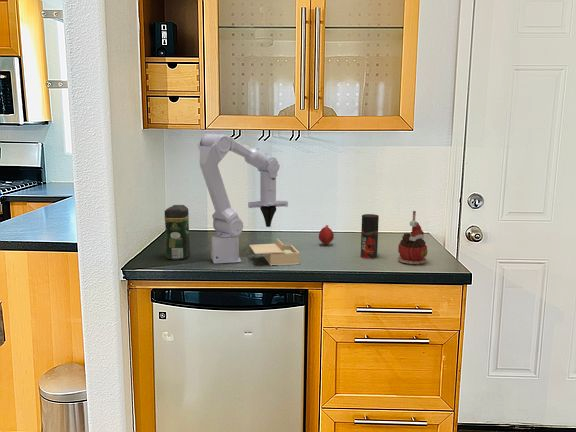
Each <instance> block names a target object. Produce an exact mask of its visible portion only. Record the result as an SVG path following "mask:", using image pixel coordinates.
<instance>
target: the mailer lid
mask: <svg viewBox="0 0 576 432" xmlns="http://www.w3.org/2000/svg"><path fill="white" fill-rule="evenodd" d="M284 245H285V243H283V242H282V241H281V240H280V238H275V243H259V244H249V248H250V249H251V250H252V252H253V254H254V255H264V254H272V253H285V251H284Z"/></svg>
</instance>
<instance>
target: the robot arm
mask: <svg viewBox="0 0 576 432" xmlns="http://www.w3.org/2000/svg"><path fill="white" fill-rule="evenodd" d="M197 146H198V150H199V167H200V169H201V172H202V176H203V179H204V181H205V184H206V187H207V190H208V193H209V196H210V200H211V203H212V206H213V209H214V212H213V213H212V215H211V216H212V220H213V222H212V227H213V229H214V231H215V232H216V235H212V236H211V252H210V253H211V254H210V257H211V260H212V262H213V264H231V263H232V264H233V263H242V259H241V257H240V254H239V252H240V251H239V250H240V249H239V247H240V244H239V242H240V241H239V239H240V238H239V237H240V236H241V234H242V232H243V229H244V223H243V220H242V219H241V218H240V217H239V214H238V212H237V211H236V210H235V209H234V208H232V206H231V203H230V199H229V197H228V194H227V190H226V187H225V184H224V182H223V178H222V175H221V172H220V168H219V164H220V162H221V161H222V160H223V159H224V157H226V155H227V154H228V153H229V152H233V153H235V154H237V155H238V156H241V157H243V158H244V161H245V163H247V164H249V165H250V166H253V167H255V168H256V169H257V171H258V172H260V175H259V176H260V177H259V181H260V182H259V183H260V184H259V185H260V186H259V187H260V188H259V190H260V192H259V194H260V195H259V197H260V198H259V199H260V200H259V201H248V202H247V204H248V206H247V207H248V209H252V208H255V209H256V208H259V209H260V211H261V213H262V215H263V218H264V223H265V227H266V228H270V227H271V225H272V222H273V217H274V215H275V213H276V212H277V208H280V207H286V208H288V206H289V201H288V200H277V177H278V171H279V170H280V166H281V164H279V161H278V159H277V158H276V157H271V156H269V155H268V153H264V152H263V151H260V148H258V147H250V148H248V147H246V146H245V145H244V144H242V143H241V142H239V141H238V140H236V139H234V137H232V136H230V135H227V134H226V133H222V134H217V133H216V134H215V133H208V132H207V133H205V134H203V135H202V136H201V137H200V139H199V141H198V143H197Z"/></svg>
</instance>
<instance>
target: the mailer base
mask: <svg viewBox="0 0 576 432" xmlns="http://www.w3.org/2000/svg"><path fill="white" fill-rule="evenodd" d="M284 251H285V253H272V254H263V257H264V259H265V260H266V262H267V261H268V262H267V263H268V264H269V266H270V265H271V267H273V266H272V265H278V266H289V265H294V266H296V265H300V259H301V258H300V252H299V251H298V249H296V248H295V247H294V246H293V244H284Z"/></svg>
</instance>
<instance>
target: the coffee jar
mask: <svg viewBox="0 0 576 432" xmlns="http://www.w3.org/2000/svg"><path fill="white" fill-rule="evenodd" d="M189 219H190V217H189V208H188V207H187V206H186V205H185V204H173V205H172V206H169V207H167V208H166V209H165V210H164V226H165V227H164V228H165V249H166V250H165V257H166V258H167V259H168V260H172V261H179V260H185V259H187V258H188V257H189V256H190V254H191V249H190V248H191V247H190V244H191V243H190V226H189V225H190V223H189V222H190V221H189Z"/></svg>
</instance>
